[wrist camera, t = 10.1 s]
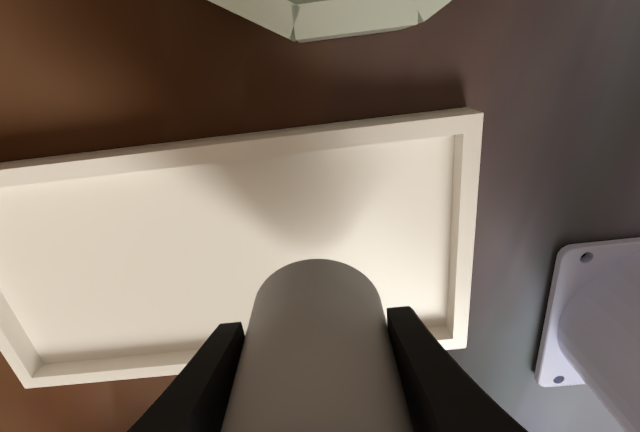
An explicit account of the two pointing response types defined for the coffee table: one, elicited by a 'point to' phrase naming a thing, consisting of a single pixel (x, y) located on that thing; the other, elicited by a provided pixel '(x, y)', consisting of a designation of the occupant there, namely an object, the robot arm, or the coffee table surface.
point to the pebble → (317, 356)
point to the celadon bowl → (332, 16)
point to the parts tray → (228, 237)
